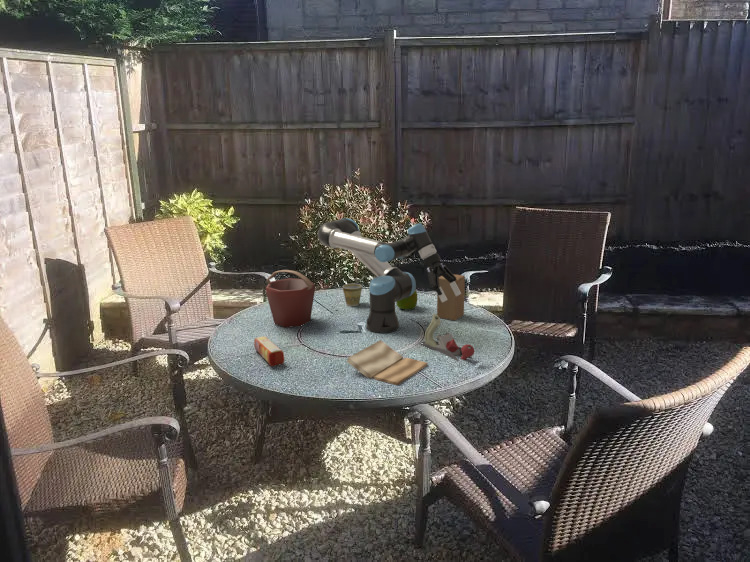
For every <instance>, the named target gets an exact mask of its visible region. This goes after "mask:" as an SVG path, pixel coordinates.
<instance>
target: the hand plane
mask: <svg viewBox="0 0 750 562" xmlns="http://www.w3.org/2000/svg"><path fill="white" fill-rule="evenodd" d="M441 323H442V321H441V318H439V316H438V315H437V313H433V314H432V319H431V322H430V324H429V325H428V327H426V330H425V333H424V341H420V342H419V345H420V344H421V343H423V344H421V345H420V346H422V345H423V346H422V347H424V346H425V348H426V347H427V348H426V349H428V348H429V350H430V349H431V350H432V351H435V352H439V353H441V354H443V355H445V356H447V357H448V358H451V359H453V360H455V361H457V362H460V360H463V361H466V360H467V359H472V360H473V359H474V358H473V357H472V356H474V354H475V349H474V346H473V345H471V344H469V343H468V344H464V345H462V346H459V345H458V344H457V342H456V341H455V338H454V336H453V335H452V333H450V332H449V331H448V332H445V333H444V334H443V335H442V334H437V335H436V336H435V339H436V340H437V341H436V340H435V339H434V333H435V331H436V330H437V328H438V327H439V326H440V324H441ZM431 350H430V351H431ZM459 355H460V358H459V359H460V360H459V359H458V358H457V357H459ZM461 355H462V356H461ZM456 356H457V357H456Z"/></svg>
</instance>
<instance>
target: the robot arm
mask: <svg viewBox="0 0 750 562" xmlns="http://www.w3.org/2000/svg"><path fill="white" fill-rule="evenodd" d="M407 233H408V235H407V236H405V237H404V238H402V239H399V240H397V241H393V242H392V241H391V242H389V243H388V242H384V241H380V240H376V239H372V238H368V237H364V236H362V235H361V231H360V228H359V225H358V223H357V222H356V221H355V220H353V219H352V218H348V217H347V218H340V219H337V220H332V221H328V222H324V223H322V225H320V227H319V228H318V230H317V238H318V239H317V240H318V241H319V242H320V244H322V245H323V246H325V247H328V248H331V249H338V248H340V249H343V250H344V251H350V252H351V254H353V256H355V258H356V259H358V260H359V261H360V262H361V263H362V264H363V265H364V266H365V268H367V269H368V271H370V272H371V273H372V274H374V276H375V277H374V278H372V279H371V280H370V282H369V288H368V292H369V315H368V318H367V320H366V324H365V326H366V329H367V331H369V330H370V332H372V331H373V332H372V333H377V332H388V333H393V332H396V331H398V330H399V329H400V322H399V319H398V315H397V312H396V302H397V301H399V300H402V299H404V298H408V297H409V296H411V295H412V294H413V293H414V291H416V287H417V285H416V283H417V282H416V279H415V277H414V276H413V274H412V273H410V272H407V271H402V270H401V269H400V268H399V267H397V266H392V265H391V264H389V263H388V262H391V261H393V260H395V259H398V260H403V259H404V258H406V257H408V256H409V255H410V254H412V253H413V252H415V251H416V250H417V252H418V254H419V256H420V258H421V260H423V261H422V262H423V264H424V265H425V268H426V269H425V271H426V273H427V277H428V282H429V286H430V289H431V290H432V291H435V292H436V295H437V294H438V296H439V298H440V300H441V301H442V303H443V302H444V301H446V300H447V298H446V296H445V294H444V292H443V290H442V288H441V287H439V277H440V276H443V277H444V278H445V279H446V280H448V281H449V282H450V286H451V288H452V290H453V292H454V293H455V295H456V296H458V295H460V294H461V292H460V290H459V288H458V286H457V284H456V282H455V281H456V277H455V276H454V273H453V272H452V271H451V269H449V268H448V266H447V264H445V262H444V261H443V262H441V260H442V258H441V257H440V254H439V253H437V249H436V247H435V245H434V244H433V242H432V240H431V238H430V235H429V234H428V230H426V228H425V226H424V225H423V224H422V223H416V224H414V225H412V226H410V227H408V228H407ZM397 329H398V330H397ZM395 330H396V331H395ZM392 331H393V332H392Z"/></svg>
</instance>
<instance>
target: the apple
mask: <svg viewBox="0 0 750 562" xmlns="http://www.w3.org/2000/svg"><path fill="white" fill-rule="evenodd" d="M395 304H396V307H397V308H399V309H401V310H407V311H409V310H413V309H414V308H416V307H417V304H418V291H417V290H415V291H414V293H413V294H412V295H411V296H409V297H408V298H404V299H402V300H399V301H397V302H395Z"/></svg>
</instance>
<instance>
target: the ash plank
mask: <svg viewBox="0 0 750 562" xmlns="http://www.w3.org/2000/svg"><path fill="white" fill-rule="evenodd" d="M402 359H404V356H402V355H401V354H400V353H398V352H397V351H396V350H395V349H393V348H392V347H390V345H388V344H387V343H385V342H384V341H382V340H381V339H380V340H379V341H376V342H375V343H372V344H371V345H369V346H367V347H366V348H363V349H362V350H360V351H358V352H356V353H354V354H353V355H351V356H348V357H347V360H346V362H347V363H348V364H349V365H351V367H352V368H354V369H355V370H357V371H358V372H359V373H360V374H362V375H363V376H365V377H366V378H368V379H373V378H374V379H375V376H377V375H378V374H380V373H381V372H383V371H385V370H386V369H388V368H390V367H391V366H393V365H394V364H396V363H398V362H399V361H401V360H402Z"/></svg>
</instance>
